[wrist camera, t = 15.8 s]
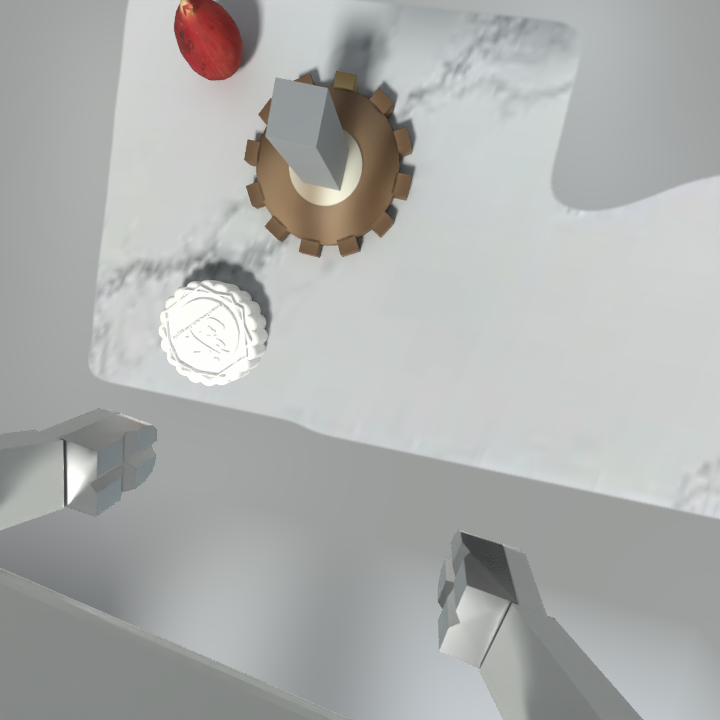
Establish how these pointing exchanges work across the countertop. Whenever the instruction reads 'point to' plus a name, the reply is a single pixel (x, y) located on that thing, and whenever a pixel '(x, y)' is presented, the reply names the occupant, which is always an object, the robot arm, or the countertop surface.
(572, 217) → the countertop surface
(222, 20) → the red fruit
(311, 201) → the sprocket
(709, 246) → the countertop surface
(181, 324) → the mooncake
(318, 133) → the gray rectangular block
